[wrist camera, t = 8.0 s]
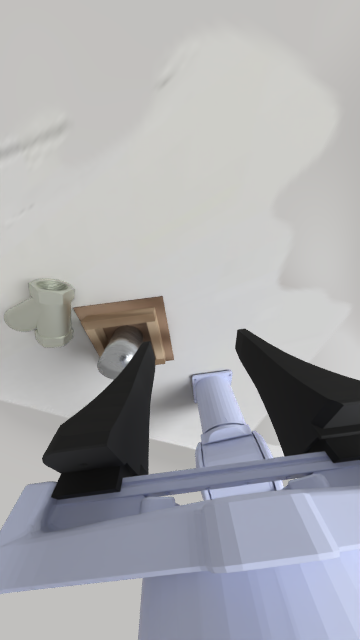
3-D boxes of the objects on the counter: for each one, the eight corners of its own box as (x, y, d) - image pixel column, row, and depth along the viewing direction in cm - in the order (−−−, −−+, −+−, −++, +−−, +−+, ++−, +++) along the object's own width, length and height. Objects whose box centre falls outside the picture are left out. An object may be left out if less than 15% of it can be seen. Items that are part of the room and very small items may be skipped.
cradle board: (173, 355, 26) (174, 368, 24) (108, 363, 26) (102, 377, 24) (162, 294, 20) (161, 302, 18) (77, 305, 20) (65, 315, 18)
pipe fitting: (27, 320, 21) (77, 334, 22) (-3, 336, 17) (58, 351, 18) (19, 265, 17) (79, 285, 18) (-21, 271, 14) (56, 296, 15)
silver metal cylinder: (145, 346, 23) (139, 378, 18) (118, 349, 23) (104, 381, 18) (140, 324, 21) (131, 352, 16) (110, 326, 21) (91, 356, 16)
